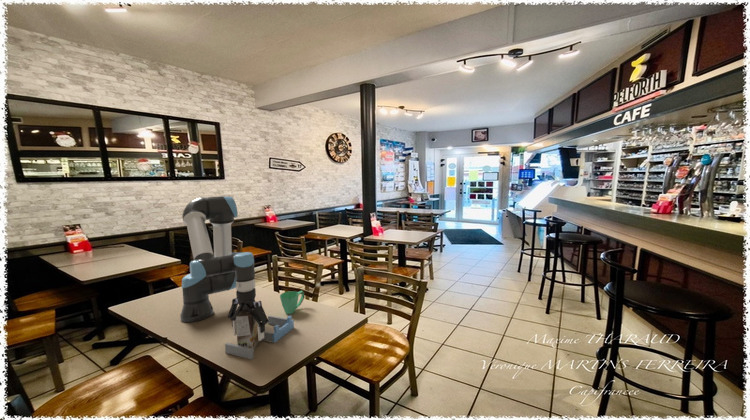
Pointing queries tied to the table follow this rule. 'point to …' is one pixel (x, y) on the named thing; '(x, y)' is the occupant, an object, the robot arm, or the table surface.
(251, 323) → the coffee box
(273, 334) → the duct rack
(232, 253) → the robot arm
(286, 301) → the mug
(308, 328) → the table surface
